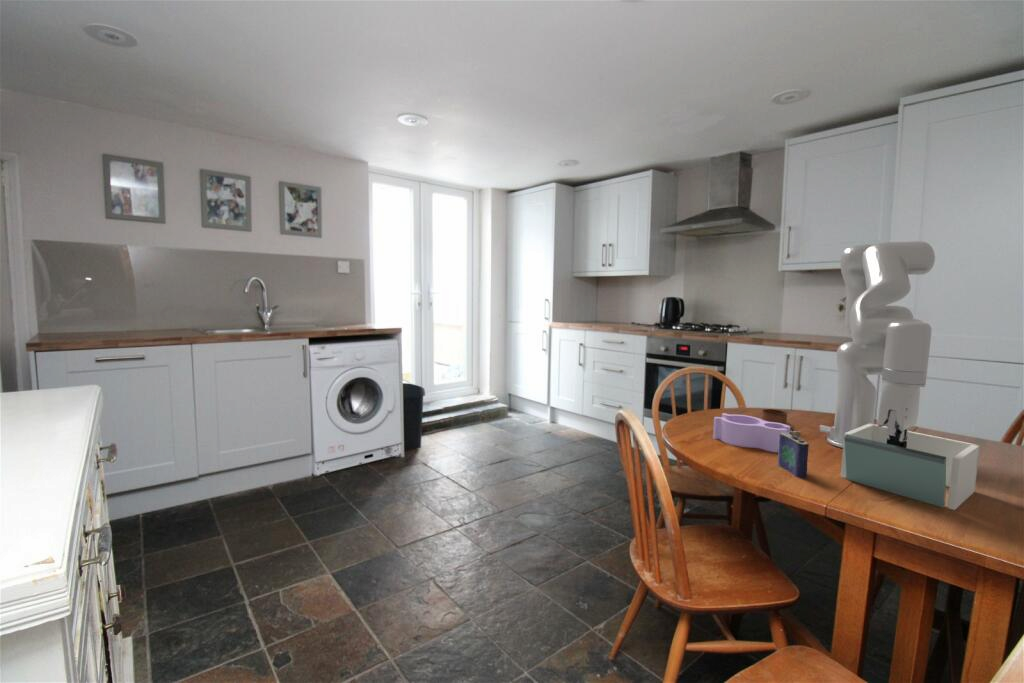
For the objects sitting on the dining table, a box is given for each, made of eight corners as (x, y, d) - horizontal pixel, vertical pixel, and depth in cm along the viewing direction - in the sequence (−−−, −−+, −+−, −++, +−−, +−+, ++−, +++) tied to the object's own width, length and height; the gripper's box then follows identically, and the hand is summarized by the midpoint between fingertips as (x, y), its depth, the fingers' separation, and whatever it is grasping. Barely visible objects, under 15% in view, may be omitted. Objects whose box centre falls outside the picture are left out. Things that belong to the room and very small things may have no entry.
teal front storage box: (865, 467, 124) (869, 423, 123) (974, 495, 107) (980, 445, 106) (840, 480, 115) (844, 433, 114) (954, 514, 98) (960, 459, 97)
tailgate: (849, 477, 114) (846, 434, 111) (945, 505, 100) (946, 456, 96) (846, 480, 114) (844, 437, 110) (943, 508, 99) (944, 460, 96)
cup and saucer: (752, 423, 166) (753, 406, 165) (790, 427, 162) (792, 409, 161) (755, 432, 155) (756, 414, 154) (797, 436, 151) (798, 418, 150)
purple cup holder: (792, 446, 141) (794, 424, 141) (780, 456, 132) (782, 432, 132) (724, 432, 155) (725, 411, 154) (709, 440, 146) (710, 418, 146)
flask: (774, 467, 124) (777, 425, 122) (786, 467, 124) (789, 425, 123) (798, 482, 114) (802, 437, 113) (811, 482, 114) (815, 437, 113)
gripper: (894, 371, 110) (886, 446, 113) (870, 378, 102) (862, 459, 104) (935, 376, 104) (926, 455, 107) (914, 384, 96) (905, 470, 98)
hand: (895, 457), depth 105 cm, fingers closed
